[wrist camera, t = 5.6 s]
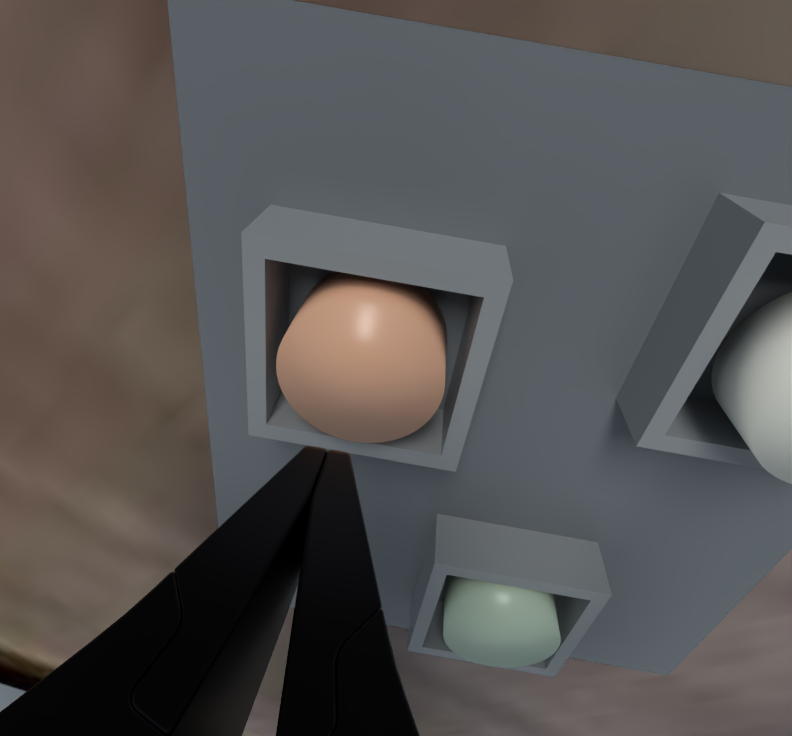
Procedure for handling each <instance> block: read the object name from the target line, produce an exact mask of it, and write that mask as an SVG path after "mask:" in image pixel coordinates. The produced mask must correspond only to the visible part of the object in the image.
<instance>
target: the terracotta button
mask: <svg viewBox="0 0 792 736" xmlns="http://www.w3.org/2000/svg"><path fill="white" fill-rule="evenodd" d="M446 348H447V330H446V324H445V320H444V317H443V314H442V312H441V310H440V308H439V306H438V304H437V303H436V301H435V300H434V298H433V297H432V296H431V295H430V294H429V293H428V291H427V290H425V289H424V288H423V287H422V286H416V285H410V284H405V283H399V282H393V281H388V280H382V279H376V278H371V277H365V276H359V275H354V274H348V273H342V272H335V273H332V274H330V275H329V276H327V277H325V278H324V279H322V280H321V281H320V282H319V283H317V284H316V285H315V286H314V287H313V289H312V290H311V291H310V292H309V294H308V295H307V297H306V298H305V300H304V302H303V303H302V305H301V307H300V309H299V310H298V312H297V314H296V316H295V318H294V319H293V321H292V323H291V325H290V326H289V328H288V330H287V332H286V334H285V335H284V337H283V339H282V341H281V344H280V346H279V349H278V353H277V359H276V372H277V377H278V382H279V385H280V387H281V390H282V392H283V394H284V396H285V398H286V400H287V401H288V402H289V404H290V405H291V407H292V408H293V409H294V410H295V411H296V412H297V413H298V414H299V415H300V416H301V417H302V418H303V419H304V420H305V421H307V422H308V423H310V424H311V425H312V426H314V427H315V428H317V429H319V430H321V431H322V432H325V433H327V434H329V435H331V436H334V437H337V438H340V439H344V440H348V441H353V442H360V443H379V442H387V441H392V440H396V439H399V438H402V437H404V436H407V435H409V434H411V433H413V432H415V431H416V430H418V429H419V428H421V427H422V426H423V425H425V424H426V423H427V422H428V421H429V420H430V419H431V418H432V416H433V415H434V414H435V412H436V411H437V409H438V407H439V405H440V403H441V401H442V398H443V395H444V389H445V373H446Z"/></svg>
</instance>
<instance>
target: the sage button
mask: <svg viewBox="0 0 792 736" xmlns="http://www.w3.org/2000/svg"><path fill="white" fill-rule="evenodd" d="M443 637H444V641H445V643H446V645H447V646H448V647H449V649H451V650H452V651H453V652H454V653H455V654H457V655H458V656H460V657H462V658H464V659H466V660H468V661H471V662H473V663H477V664H480V665H485V666H490V667H500V668H513V667H523V666H528V665H532V664H536V663H538V662H541V661H543V660H545V659H547V658H549V657H550V656H551V655H553V654H554V653H555V652H556V650H557V649H558V647H559V646H560V642H561V637H560V631H559V625H558V619H557V613H556V607H555V601H554V594H552V593H546V592H541V591H535V590H530V589H524V588H518V587H513V586H507V585H502V584H496V583H491V582H485V581H479V580H474V579H468V578H463V577H457V576H452V575H447V576H446V579H445V587H444V625H443Z"/></svg>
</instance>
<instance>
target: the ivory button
mask: <svg viewBox="0 0 792 736" xmlns="http://www.w3.org/2000/svg"><path fill="white" fill-rule="evenodd" d="M711 383H712V389H713V393H714V395H715V398H716V400H717V401H718V403H719V405H720V406H721V408H722V409H723V410H724V412H725V413H726V415H727V416H728V418H729V419H730V421H731V422H732V424H733V425H734V427H735V428H736V429H737V431H738V432H739V434H740V435H741V437H742V438H743V440H744V441H745V443H746V444H747V445H748V447H749V448H750V450H751V451H752V453H753V454H754V456H755V457H756V459H757V460H758V462H759V463H760V464H761V465H762V466H763V468H764V469H765V470H766V471H768V472H769V473H770V474H772V475H773V476H775V477H776V478H778V479H780V480H782V481H785V482H787V483H790V484H792V292H790V293H787V294H785V295H783V296H781V297H779V298H777V299H775V300H773V301H771V302H769V303H768V304H766V305H764V306H763V307H761V308H760V309H758V310H757V311H755V312H754V313H753V314H751V315H750V316H749V317H747V318H746V319H745V320H744V321H743V322H742V323H741V324H740V325H739V326H737V327H736V329H735V330H734V331H733V332H732V333H731V334H730V335H729V337H728V338H727V339H726V341H725V342H724V344H723V345H722V347H721V349H720V350H719V352H718V354H717V356H716V359H715V362H714V365H713V369H712V379H711Z"/></svg>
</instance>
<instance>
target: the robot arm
mask: <svg viewBox="0 0 792 736" xmlns="http://www.w3.org/2000/svg"><path fill="white" fill-rule="evenodd" d="M297 586H298V588H297ZM296 588H297V595H296V602H295V608H294V615H293V622H292V629H291V636H290V643H289V650H288V656H287V663H286V670H285V677H284V684H283V691H282V698H281V704H280V711H279V718H278V725H277V732H276V736H419V733H418V730H417V727H416V724H415V721H414V719H413V716H412V713H411V710H410V707H409V704H408V701H407V698H406V695H405V692H404V689H403V686H402V682H401V679H400V676H399V673H398V670H397V666H396V663H395V659H394V655H393V651H392V647H391V643H390V639H389V635H388V631H387V626H386V621H385V617H384V612H383V610H382V604H381V599H380V594H379V589H378V585H377V580H376V575H375V570H374V566H373V561H372V556H371V551H370V547H369V542H368V537H367V533H366V528H365V523H364V518H363V514H362V509H361V504H360V499H359V495H358V490H357V485H356V480H355V476H354V471H353V466H352V461H351V457H350V454H349V453H348V452H343V451H338V450H332V449H331V450H329V451H328V452H327V450H326V449H325V448H321V447H315V446H310V445H308V446H305V447H304V448H303V449H302V450H301V451H300V452H299V453H297V454H296V455H295V456H294V457H293V458H292V459H291V460H290V461H289V462H288V463H287V464H286V465H285V466H284V467H283V468H282V469H280V470H279V471H278V472H277V473H276V474H275V475H274V476H273V477H272V478H271V479H270V480H269V481H268V482H267V483H266V484H265V485H263V486H262V487H261V488H260V489H259V490H258V491H257V492H256V493H255V494H254V495H253V496H252V497H251V498H250V499H249V500H247V501H246V502H245V503H244V504H243V505H242V506H241V507H240V508H239V509H238V510H237V511H236V512H235V513H234V514H233V515H232V516H230V517H229V518H228V519H227V520H226V521H225V522H224V523H223V524H222V525H221V526H220V527H219V528H218V529H217V530H216V531H215V532H213V533H212V534H211V535H210V536H209V537H208V538H207V539H206V540H205V541H204V542H203V543H202V544H201V545H200V546H199V547H197V548H196V549H195V550H194V551H193V552H192V553H191V554H190V555H189V556H188V557H187V558H186V559H185V560H184V561H183V562H182V563H180V564H179V565H178V566H177V567H176V568H175V573H174V572H171V573H169V574H168V575H167V576H166V577H165V578H164V579H163V580H162V581H161V582H160V583H159V584H158V585H157V586H156V587H155V588H154V589H153V590H151V591H150V592H149V593H148V594H147V595H146V596H145V597H144V598H143V599H141V600H140V601H139V602H138V603H137V604H136V605H135V606H134V607H132V608H131V609H130V610H129V611H128V612H127V613H126V614H125V615H123V616H122V617H121V618H120V619H118V620H117V621H116V622H115V623H113V624H112V625H111V626H110V627H108V628H107V629H106V630H105V631H104V632H102V633H101V634H100V635H99V636H97V637H96V638H95V639H94V640H92V641H91V642H90V643H89V644H87V645H86V646H85V647H83V648H82V649H81V650H80V651H78V652H77V653H76V654H74V655H73V656H72V657H71V658H69V659H68V660H67V661H65V662H64V663H63V664H62V665H60V666H59V667H58V668H56V669H55V670H54V671H53V672H51V673H50V674H49V675H47V676H46V677H45V678H44V679H42V680H41V681H40V682H38V683H37V684H36V685H35V686H33V687H32V688H31V689H29V690H28V691H27V692H26V693H24V694H23V695H22V696H20V697H19V698H18V699H17V700H15V701H14V702H13V703H11V704H10V705H9V706H8V707H6V708H5V709H4V710H2V711H1V712H0V736H242V733H243V731H244V728H245V725H246V723H247V720H248V717H249V715H250V712H251V709H252V706H253V704H254V701H255V698H256V696H257V693H258V690H259V688H260V685H261V682H262V680H263V677H264V674H265V672H266V669H267V666H268V663H269V661H270V658H271V655H272V653H273V650H274V647H275V645H276V642H277V639H278V637H279V634H280V631H281V629H282V626H283V623H284V620H285V618H286V615H287V612H288V610H289V607H290V604H291V602H292V599H293V596H294V594H295V591H296Z"/></svg>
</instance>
